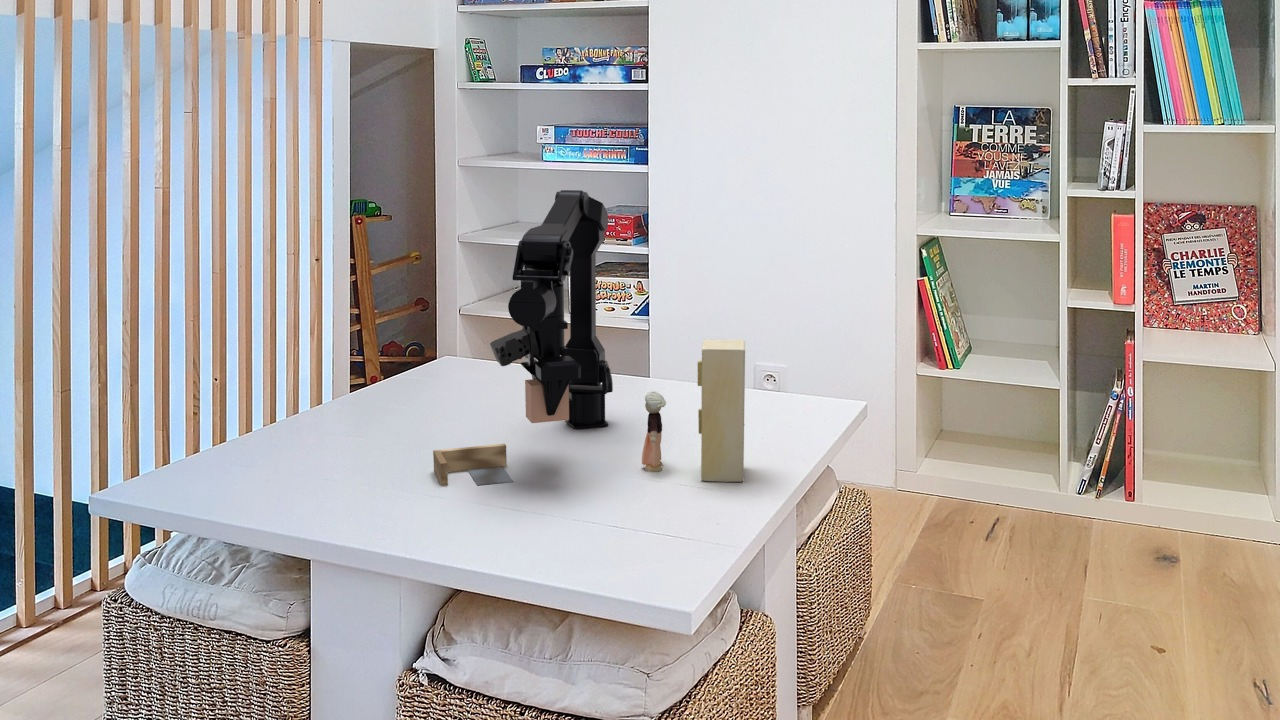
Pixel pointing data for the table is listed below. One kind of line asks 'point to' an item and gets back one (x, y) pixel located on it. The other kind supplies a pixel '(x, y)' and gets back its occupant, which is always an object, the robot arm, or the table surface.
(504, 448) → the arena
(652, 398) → the grandmother figurine
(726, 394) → the toy refrigerator
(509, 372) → the table surface
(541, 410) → the terracotta block
